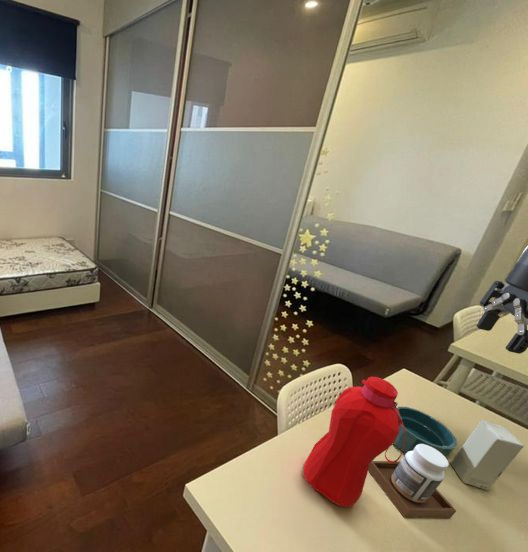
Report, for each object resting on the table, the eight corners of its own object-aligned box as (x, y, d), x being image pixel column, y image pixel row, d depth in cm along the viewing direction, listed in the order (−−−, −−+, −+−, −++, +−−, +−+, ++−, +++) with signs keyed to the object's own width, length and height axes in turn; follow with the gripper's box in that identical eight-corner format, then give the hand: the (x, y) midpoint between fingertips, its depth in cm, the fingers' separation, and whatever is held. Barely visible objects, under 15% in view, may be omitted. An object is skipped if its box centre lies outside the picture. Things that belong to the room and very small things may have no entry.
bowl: (427, 432, 77) (439, 415, 75) (455, 474, 67) (469, 456, 65) (375, 417, 80) (385, 400, 78) (394, 455, 70) (406, 437, 68)
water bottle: (361, 526, 56) (432, 424, 45) (296, 479, 62) (345, 381, 52) (370, 490, 62) (434, 393, 52) (310, 451, 69) (357, 358, 58)
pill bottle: (416, 480, 64) (441, 446, 60) (432, 509, 59) (460, 474, 55) (384, 470, 66) (406, 437, 62) (397, 498, 60) (423, 463, 56)
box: (488, 491, 64) (527, 448, 59) (462, 483, 66) (498, 439, 60) (472, 468, 69) (507, 426, 64) (447, 461, 70) (480, 418, 65)
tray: (406, 468, 67) (411, 461, 67) (450, 517, 59) (456, 510, 58) (365, 467, 66) (369, 460, 66) (403, 517, 58) (409, 510, 57)
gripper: (616, 286, 51) (550, 366, 57) (541, 258, 63) (494, 327, 70) (556, 275, 53) (499, 354, 59) (495, 250, 65) (453, 318, 72)
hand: (496, 339), depth 65 cm, fingers open, 8 cm apart
